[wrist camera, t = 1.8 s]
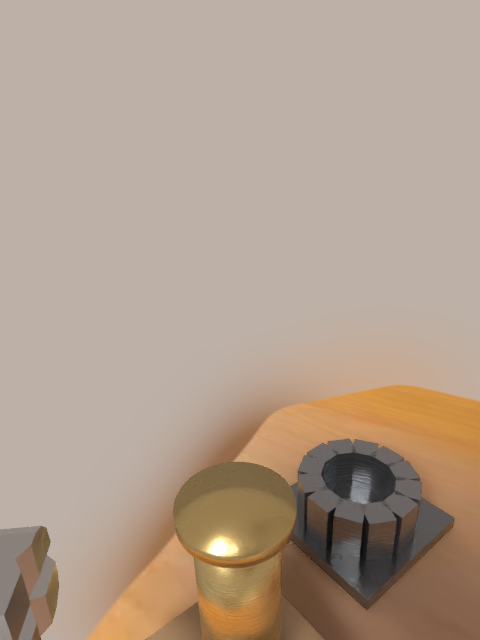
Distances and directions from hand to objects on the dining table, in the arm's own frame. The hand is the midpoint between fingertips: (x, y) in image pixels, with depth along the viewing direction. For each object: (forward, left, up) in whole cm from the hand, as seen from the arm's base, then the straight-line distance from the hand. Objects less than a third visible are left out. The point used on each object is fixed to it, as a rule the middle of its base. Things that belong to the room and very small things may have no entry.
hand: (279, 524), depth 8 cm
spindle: (-6, -10, -23) cm, 26 cm away
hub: (-22, -14, -26) cm, 37 cm away
